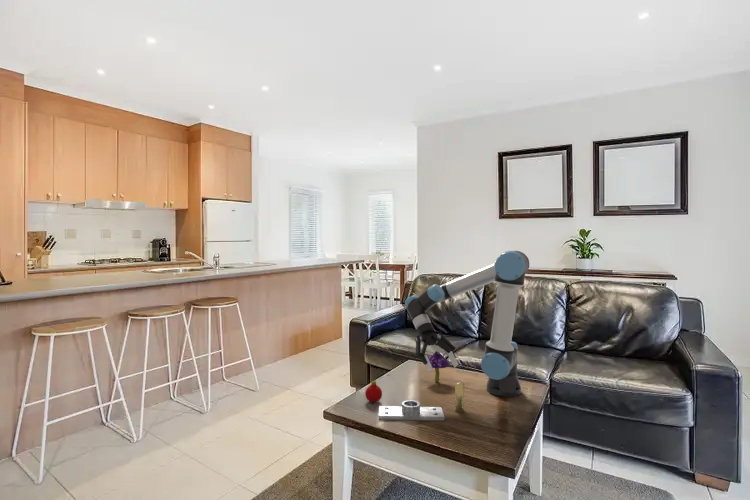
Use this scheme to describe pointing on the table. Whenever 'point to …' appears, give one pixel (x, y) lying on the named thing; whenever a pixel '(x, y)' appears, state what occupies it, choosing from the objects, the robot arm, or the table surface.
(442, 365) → the decorative mushroom
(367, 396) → the christmas ornament
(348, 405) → the table surface
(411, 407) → the hinge leaves
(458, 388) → the hinge pin
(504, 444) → the table surface
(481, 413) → the table surface
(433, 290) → the robot arm
